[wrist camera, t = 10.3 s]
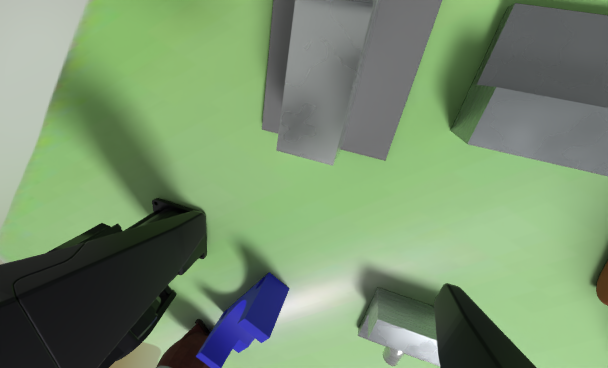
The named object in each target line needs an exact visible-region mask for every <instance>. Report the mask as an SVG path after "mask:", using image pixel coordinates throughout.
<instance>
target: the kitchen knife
mask: <svg viewBox="0 0 608 368" xmlns="http://www.w3.org/2000/svg"><path fill="white" fill-rule="evenodd" d="M596 292H597V296H598V298H599V299H600V301H601V302H603V303H604V304H605V305H607V306H608V261H607V263H606V265H605V266H604V268H603V270H602V272H601V274H600V276H599V278H598V281H597V287H596Z"/></svg>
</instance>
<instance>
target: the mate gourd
mask: <svg viewBox="0 0 608 368" xmlns="http://www.w3.org/2000/svg"><path fill="white" fill-rule="evenodd" d="M195 323H196V325H195V326H194V327H193V328H192V329H191V330H190V331H189V332H188V333H187V334H185V335H184V337H183V338H182V339H180V340H179V341H177V342H176V343H175V344H174V345H172V346H171V347H170V348H169V349H168V350H167V351H166V352H165V353H164V355H163V356H162V358H161V359H160V361H159V363H158V365H157V367H156V368H210V367H209V366H208V365H206V364H205V363H204V362H202V361H201V360H200V359H198V358H197V357H196V355H197V353H198V352H199V350H200V349H201V347H202V346H203V344H204V342H205V341H206V339H207V338H208V336H209V335H210V333H211V332H209V331H208V329H207V328H206V327H205V325H204V324H203V322H202V321H201V320H200V319H198V320H197V321H196V322H195Z"/></svg>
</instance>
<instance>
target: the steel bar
mask: <svg viewBox="0 0 608 368" xmlns="http://www.w3.org/2000/svg"><path fill="white" fill-rule="evenodd" d="M380 1H381V0H295V6H294V14H293V22H292V30H291V38H290V46H289V54H288V62H287V70H286V78H285V86H284V94H283V102H282V110H281V118H280V126H279V134H278V142H277V151H280V152H284V153H288V154H292V155H295V156H299V157H303V158H307V159H310V160H314V161H318V162H321V163H325V164H329V165H333V164H334V162H335V160H336V158H337V156H338V154H339V152H340V150H341V148H342V145H343V143H344V140H345V136H346V132H347V128H348V124H349V120H350V116H351V113H352V109H353V105H354V101H355V97H356V93H357V90H358V86H359V82H360V78H361V74H362V70H363V66H364V63H365V59H366V55H367V51H368V47H369V43H370V40H371V36H372V32H373V28H374V24H375V20H376V16H377V13H378V9H379V5H380Z"/></svg>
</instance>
